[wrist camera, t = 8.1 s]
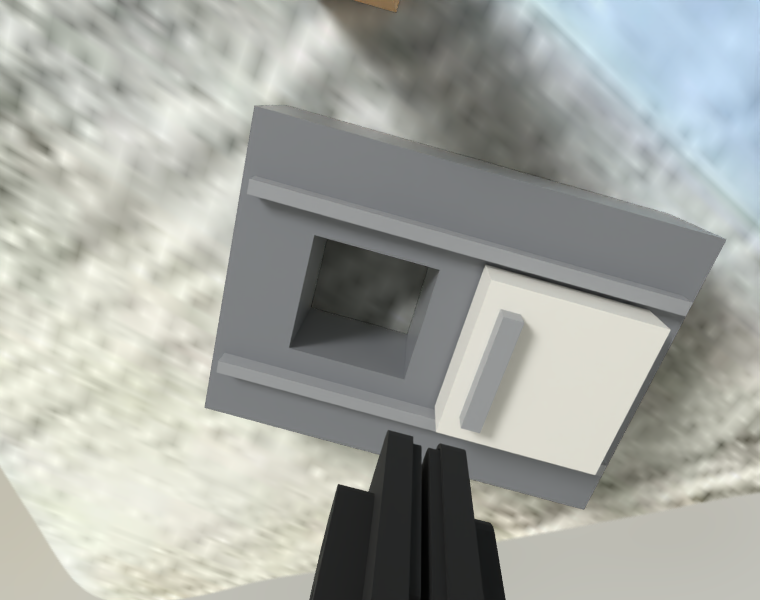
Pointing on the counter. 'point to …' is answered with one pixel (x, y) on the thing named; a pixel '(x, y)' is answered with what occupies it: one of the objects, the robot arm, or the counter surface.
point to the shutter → (546, 370)
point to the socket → (440, 287)
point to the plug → (382, 4)
